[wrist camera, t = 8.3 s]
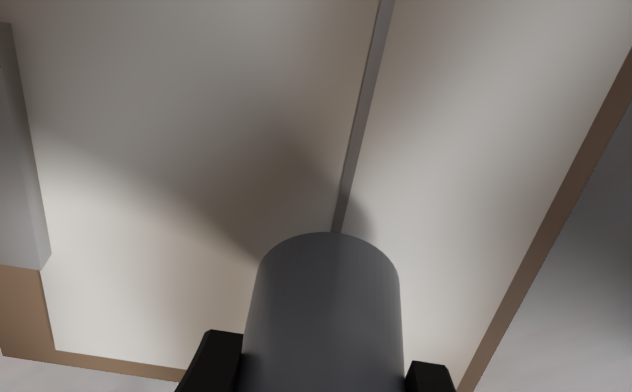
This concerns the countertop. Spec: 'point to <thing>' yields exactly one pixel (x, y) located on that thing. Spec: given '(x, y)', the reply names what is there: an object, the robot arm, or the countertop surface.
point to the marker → (323, 319)
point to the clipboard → (289, 161)
